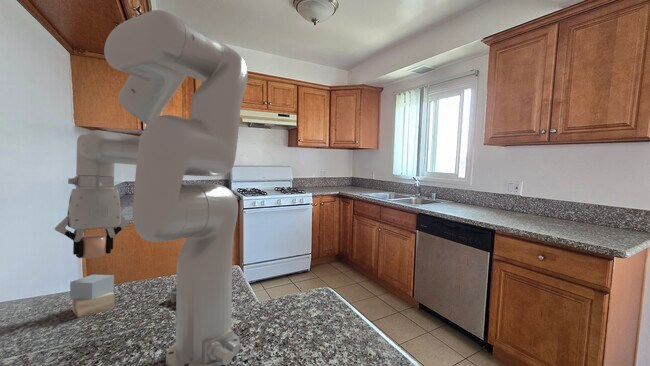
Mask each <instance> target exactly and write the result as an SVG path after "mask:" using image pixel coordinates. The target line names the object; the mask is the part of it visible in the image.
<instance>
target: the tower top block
mask: <svg viewBox="0 0 650 366" xmlns="http://www.w3.org/2000/svg"><path fill="white" fill-rule="evenodd" d="M69 285H70V286H69V287H70V288H69V289H70V291H69V293H70V294H69V295H70V296H69V298H70V300H71V299H89V300H92V299H95V298H97V297H100V296H102V295H104V294H107V293H109V292H114V290H115V275H114V274H90V275H88V276H85V277H82V278H79V279H76V280H72V281H70V284H69Z"/></svg>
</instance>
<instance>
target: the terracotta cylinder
mask: <svg viewBox="0 0 650 366" xmlns="http://www.w3.org/2000/svg"><path fill="white" fill-rule="evenodd" d="M81 239H82V241H83V257H82V258H81V259H97V258H100V257H101V258H102V257H104V256H106V255H107V253H106V240H107V235H106V234H104V233H103V234H102V233H101V234H100V233H99V234H97V233H96V234H91V235H90V234H88V235H82V237H81Z"/></svg>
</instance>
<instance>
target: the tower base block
mask: <svg viewBox="0 0 650 366" xmlns="http://www.w3.org/2000/svg"><path fill="white" fill-rule="evenodd" d="M115 293H116V292H115ZM115 293H114V291H112V292H109V293H107V294H104V295H102V296H100V297H97V298H95V299H92V300H89V299H72V303H71V304H72V308H71V310H72V312H73V313H74V314H75V316H76V317H77V318H78V319H81V318H83V317H84V318H85V317H89V316H91V315H96V314H99V313H102V312H105V311H106V312H107V311H111V310H113V309H115Z"/></svg>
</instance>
